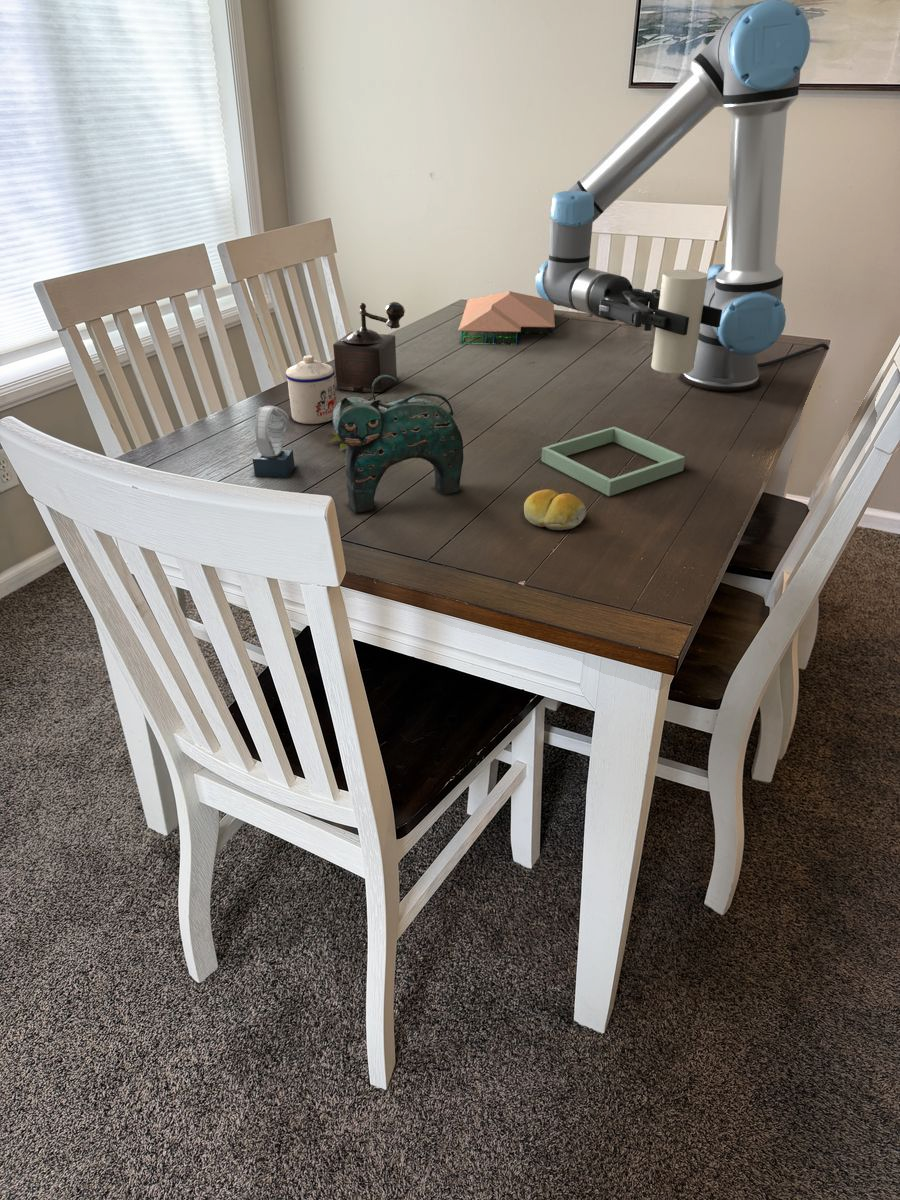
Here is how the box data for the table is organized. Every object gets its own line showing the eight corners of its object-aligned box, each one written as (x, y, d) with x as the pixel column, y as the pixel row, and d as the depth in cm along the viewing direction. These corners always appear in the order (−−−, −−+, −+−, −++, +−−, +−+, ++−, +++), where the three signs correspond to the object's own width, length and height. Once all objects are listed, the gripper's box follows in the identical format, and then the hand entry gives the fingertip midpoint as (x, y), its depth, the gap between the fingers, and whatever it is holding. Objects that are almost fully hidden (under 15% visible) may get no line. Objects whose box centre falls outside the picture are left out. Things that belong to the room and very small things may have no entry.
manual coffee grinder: (333, 390, 172) (325, 301, 162) (353, 374, 181) (346, 288, 171) (404, 396, 168) (400, 305, 158) (420, 379, 177) (418, 292, 167)
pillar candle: (671, 358, 144) (683, 267, 136) (702, 368, 139) (717, 275, 131) (642, 365, 141) (653, 273, 133) (673, 376, 136) (686, 281, 128)
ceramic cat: (347, 519, 124) (335, 388, 113) (334, 502, 129) (322, 375, 118) (468, 494, 130) (468, 369, 119) (451, 479, 135) (450, 356, 124)
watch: (298, 462, 141) (290, 400, 135) (284, 482, 135) (275, 417, 129) (266, 461, 142) (257, 398, 136) (251, 480, 135) (240, 416, 129)
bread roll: (538, 501, 128) (539, 477, 126) (591, 515, 124) (593, 490, 122) (512, 522, 122) (513, 497, 120) (567, 537, 118) (568, 512, 116)
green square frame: (613, 439, 148) (614, 426, 147) (683, 470, 137) (685, 456, 135) (541, 461, 140) (541, 447, 139) (609, 496, 129) (610, 481, 128)
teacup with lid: (324, 427, 155) (318, 365, 148) (282, 422, 157) (274, 361, 151) (352, 406, 164) (348, 347, 158) (312, 401, 167) (306, 343, 160)
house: (552, 310, 224) (554, 279, 220) (554, 345, 197) (556, 310, 193) (468, 309, 226) (468, 278, 222) (458, 344, 199) (458, 309, 195)
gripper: (640, 308, 155) (740, 335, 139) (559, 325, 145) (655, 357, 129) (645, 265, 151) (748, 289, 135) (562, 280, 141) (662, 307, 125)
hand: (702, 322), depth 132 cm, fingers closed on pillar candle, 7 cm apart
